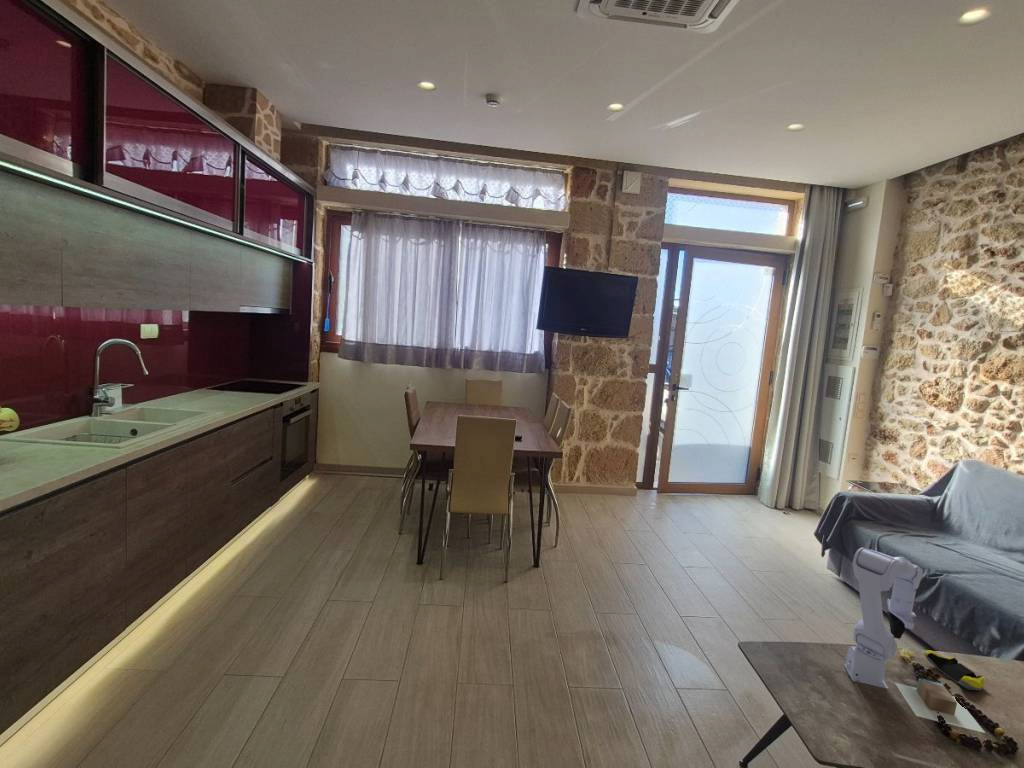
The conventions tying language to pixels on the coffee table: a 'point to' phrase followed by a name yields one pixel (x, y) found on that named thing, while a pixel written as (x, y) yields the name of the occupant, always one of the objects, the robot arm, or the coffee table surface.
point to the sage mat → (921, 710)
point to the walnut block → (936, 696)
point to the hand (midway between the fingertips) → (895, 637)
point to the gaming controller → (956, 671)
